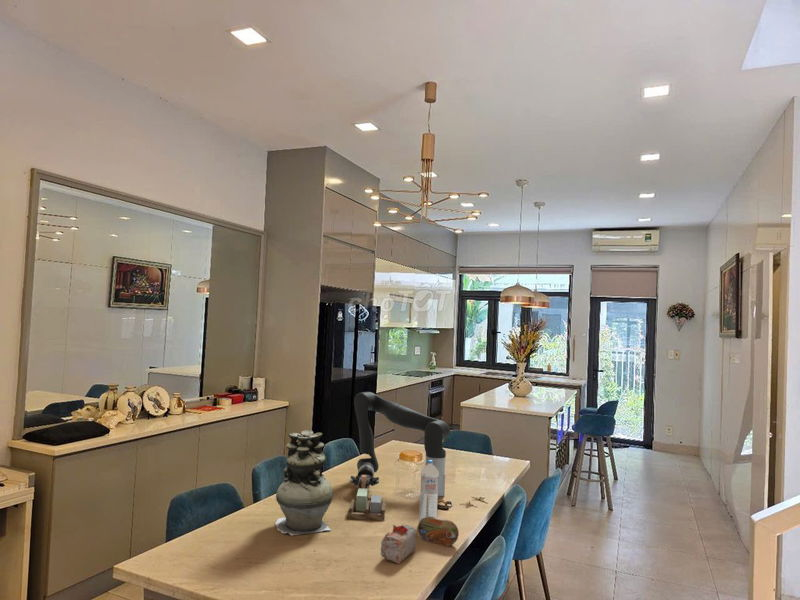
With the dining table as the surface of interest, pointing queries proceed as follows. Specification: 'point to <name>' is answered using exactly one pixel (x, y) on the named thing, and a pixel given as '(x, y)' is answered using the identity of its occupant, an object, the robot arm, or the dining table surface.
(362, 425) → the robot arm
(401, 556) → the food item
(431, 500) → the water bottle
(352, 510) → the lane rack
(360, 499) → the sage block
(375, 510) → the slate block
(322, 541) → the dining table surface
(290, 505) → the decorative urn
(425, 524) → the tin
